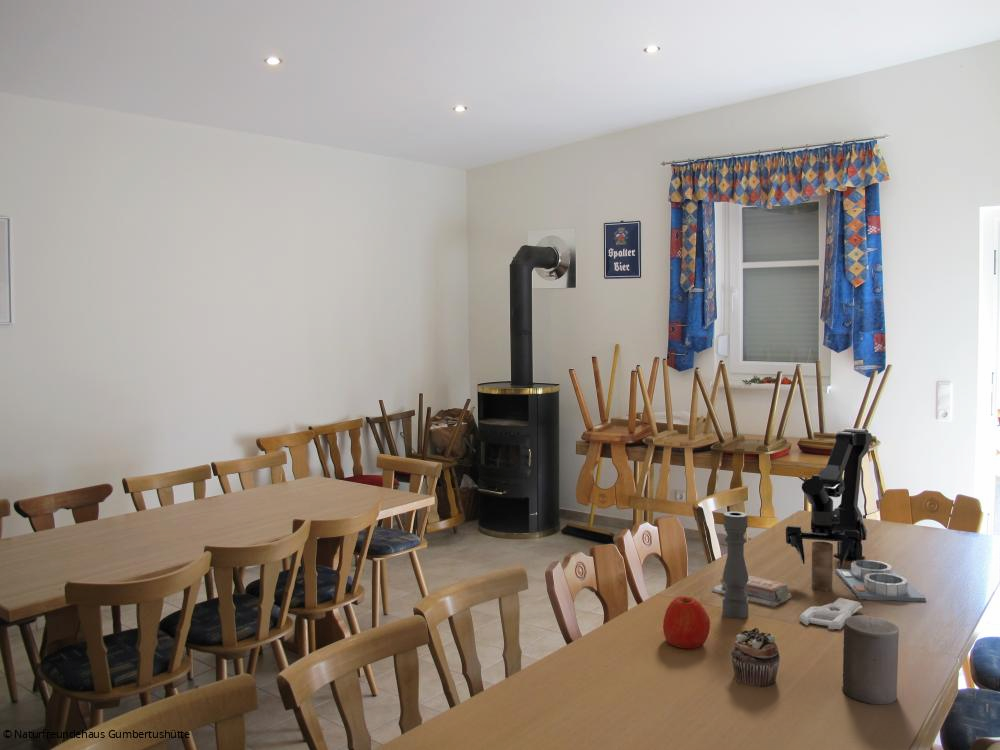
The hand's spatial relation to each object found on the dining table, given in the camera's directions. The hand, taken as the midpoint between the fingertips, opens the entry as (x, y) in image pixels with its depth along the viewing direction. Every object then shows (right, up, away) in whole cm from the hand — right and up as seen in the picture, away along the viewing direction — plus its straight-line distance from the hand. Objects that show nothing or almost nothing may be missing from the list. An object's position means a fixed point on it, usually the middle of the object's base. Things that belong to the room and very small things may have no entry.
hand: (822, 564), depth 216 cm
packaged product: (-20, -8, -2) cm, 21 cm away
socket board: (+16, -6, +2) cm, 17 cm away
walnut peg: (+1, -7, +2) cm, 7 cm away
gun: (-6, -9, -20) cm, 23 cm away
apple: (-44, -10, -34) cm, 57 cm away
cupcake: (-35, -11, -53) cm, 64 cm away
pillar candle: (-15, -11, -60) cm, 63 cm away
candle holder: (-28, -8, -17) cm, 34 cm away
